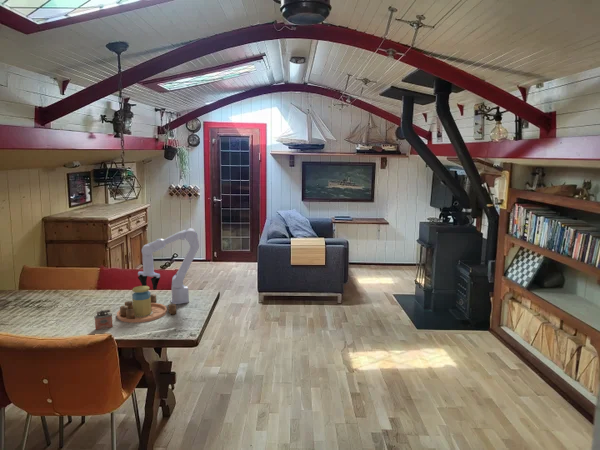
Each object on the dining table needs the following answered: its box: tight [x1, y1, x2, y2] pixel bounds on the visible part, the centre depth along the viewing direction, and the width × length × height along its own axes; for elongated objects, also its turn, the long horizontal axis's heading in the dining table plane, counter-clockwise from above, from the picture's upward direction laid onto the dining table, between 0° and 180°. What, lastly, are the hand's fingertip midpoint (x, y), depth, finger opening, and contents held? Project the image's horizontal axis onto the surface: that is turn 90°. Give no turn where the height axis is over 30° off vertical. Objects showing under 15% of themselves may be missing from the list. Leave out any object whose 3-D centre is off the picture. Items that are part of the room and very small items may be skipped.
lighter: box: [94, 308, 114, 331], centre depth 214 cm, size 8×3×10 cm, turn 118°
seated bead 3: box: [126, 309, 136, 319], centre depth 225 cm, size 4×4×5 cm
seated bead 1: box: [119, 305, 128, 317], centre depth 230 cm, size 4×4×5 cm
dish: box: [116, 302, 168, 324], centre depth 234 cm, size 25×25×2 cm
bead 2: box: [167, 303, 177, 316], centre depth 235 cm, size 4×4×5 cm
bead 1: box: [150, 293, 157, 303], centre depth 251 cm, size 4×4×5 cm
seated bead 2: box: [124, 300, 133, 309], centre depth 236 cm, size 4×4×5 cm
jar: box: [131, 285, 152, 317], centre depth 233 cm, size 9×9×15 cm
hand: (149, 288), depth 249 cm, fingers open, 7 cm apart
